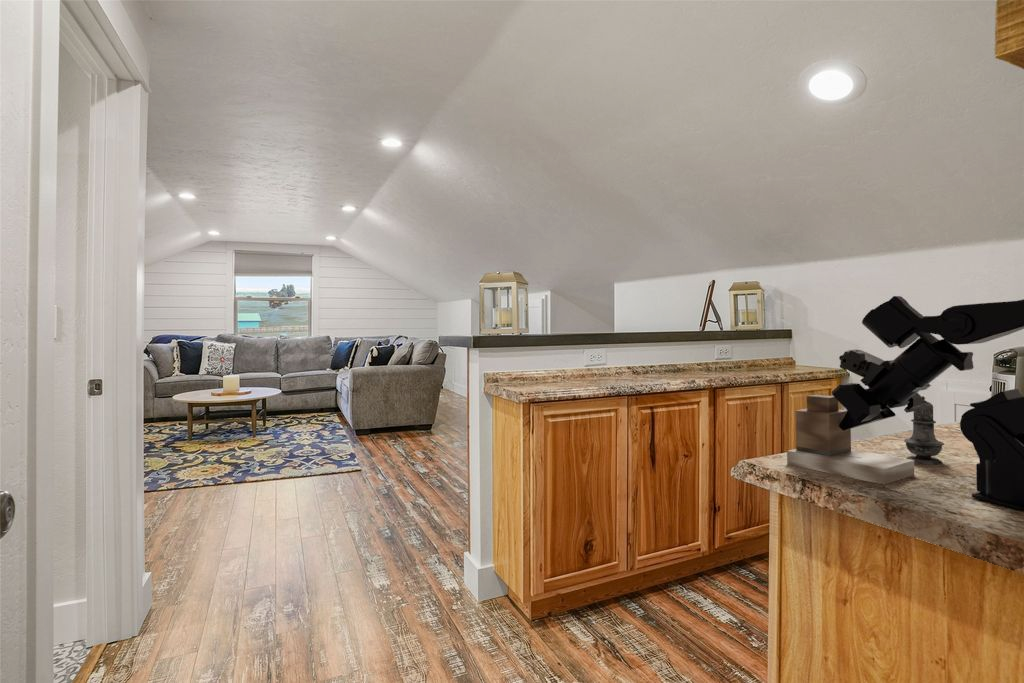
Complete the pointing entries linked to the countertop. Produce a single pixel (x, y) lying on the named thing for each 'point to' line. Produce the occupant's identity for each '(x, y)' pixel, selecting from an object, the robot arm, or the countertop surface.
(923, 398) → the salt shaker
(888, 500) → the countertop surface
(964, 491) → the countertop surface
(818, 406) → the brown square jar
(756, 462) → the countertop surface
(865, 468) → the board
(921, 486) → the countertop surface
